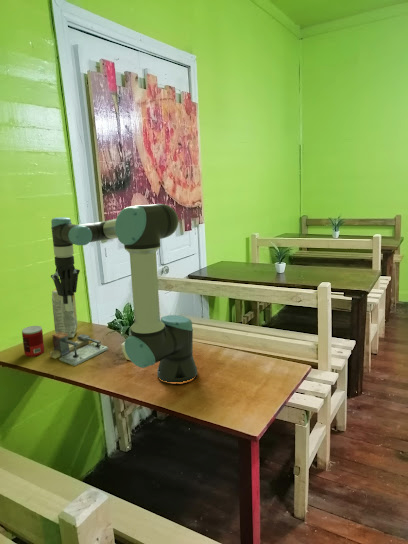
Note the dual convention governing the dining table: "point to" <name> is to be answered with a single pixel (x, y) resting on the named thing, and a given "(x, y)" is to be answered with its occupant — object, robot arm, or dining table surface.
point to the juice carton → (64, 315)
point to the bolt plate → (83, 354)
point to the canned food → (33, 341)
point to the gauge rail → (81, 340)
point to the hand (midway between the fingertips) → (68, 310)
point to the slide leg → (63, 343)
